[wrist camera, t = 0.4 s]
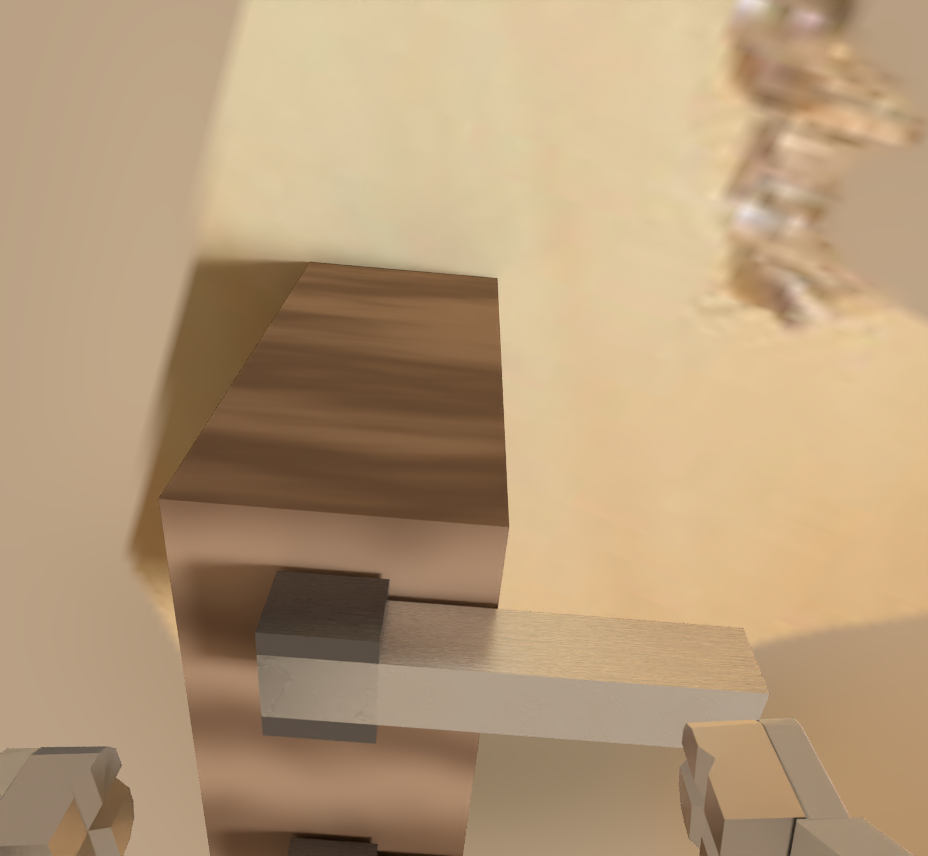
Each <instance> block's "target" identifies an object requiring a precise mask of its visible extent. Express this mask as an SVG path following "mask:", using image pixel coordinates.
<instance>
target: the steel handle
mask: <svg viewBox="0 0 928 856" xmlns="http://www.w3.org/2000/svg"><path fill="white" fill-rule="evenodd" d="M389 582H390V579H379V578H366V577H354V576H341V575H328V574H316V573H303V572H290V571H278V570H277V572H276V575H275V578H274V580H273V583H272V586H271V589H270V592H269V594H268V597H267V600H266V603H265V606H264V608H263V611H262V614H261V617H260V620H259V622H258V625H257V628H256V631H255V640H256V653H257V666H258V680H259V693H260V706H261V719H262V733H263V735H265V736H278V737H292V738H305V739H319V740H332V741H346V742H359V743H373V744H376V738H377V731H378V725H384V726H397V727H411V728H424V729H438V730H451V731H465V732H478V733H491V734H505V735H518V736H532V737H545V738H558V739H572V740H585V741H599V742H612V743H626V744H640V745H653V746H666V747H679V748H683V746H682V736H683V729H684V726H685V724H686V723H695V722H714V721H734V720H758V719H760V716H761V714H762V711H763V709H764V706H765V704H766V702H767V699H768V697H769V695H770V693H769V691H768V688H767V686H766V684H765V681H764V679H763V676H762V673H761V671H760V669H759V666H758V664H757V661H756V659H755V656H754V654H753V651H752V649H751V646H750V644H749V642H748V639H747V637H746V634H745V632H744V629H743V628H736V627H723V626H710V625H697V624H684V623H672V622H659V621H646V620H633V619H621V618H608V617H595V616H582V615H569V614H557V613H544V612H531V611H518V610H505V609H493V608H480V607H467V606H454V605H442V604H429V603H416V602H403V601H390V600H389Z"/></svg>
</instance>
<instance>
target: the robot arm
mask: <svg viewBox="0 0 928 856" xmlns="http://www.w3.org/2000/svg"><path fill="white" fill-rule="evenodd" d="M682 746H683V749H684V752H685V755H686V758H687V760H686V761H685V762H684V763H683V764H682V765H681V767H680V774H679V775H680V776H679V791H680V802H681V809H682V813H683V819H684V823H685V826H686V830H687V833H688V837H689V839H690V840H691V841H692V842H693V843H694V844H695V845H696V846H697V847H699V849H700V856H914V855H913V854H911V853H910V852H909V851H907V850H906V849H904V848H903V847H902V846H900V845H899V844H898V843H896V842H895V841H894V840H892V839H891V838H890V837H888V836H887V835H885V834H884V833H883V832H881V831H880V830H879V829H877V828H876V827H875V826H873V825H872V824H871V823H869V822H868V821H867V820H865V819H864V818H862V817H850V815H849V813H848V812H847V810H846V808H845V806H844V804H843V802H842V800H841V798H840V797H839V795H838V793H837V791H836V789H835V788H834V786H833V784H832V782H831V780H830V778H829V776H828V774H827V773H826V771H825V769H824V767H823V765H822V763H821V761H820V760H819V758H818V756H817V754H816V752H815V751H814V748H813V747H812V745H811V744H810V741H809V739H808V737H807V736H806V734H805V732H804V730H803V728H802V726H801V724H800V723H799V722H798V721H797V720H795V719H794V718H777V719H758V720H734V721H714V722H695V723H686V724H685V726H684V729H683V736H682ZM121 766H122V764H121V761H120V758H119V756H118V753H117V751H116V748H112V747H41V748H8V749H6V750H4V751H3V752H1V753H0V856H123V855H124V852H125V850H126V848H127V845H128V843H129V840H130V836H131V831H132V826H133V821H134V804H133V798H132V795H131V791H130V788H129V787H128V786H126V785H125V784H124V783H122V782H121V781H120V780H119V779H117V778H116V776H117V774H118V772H119V770H120V768H121Z"/></svg>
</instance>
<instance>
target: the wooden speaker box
mask: <svg viewBox="0 0 928 856" xmlns="http://www.w3.org/2000/svg"><path fill="white" fill-rule="evenodd" d="M159 506H160V513H161V520H162V526H163V533H164V540H165V547H166V554H167V561H168V568H169V575H170V582H171V588H172V595H173V602H174V609H175V616H176V623H177V630H178V637H179V644H180V650H181V657H182V664H183V671H184V678H185V685H186V691H187V699H188V705H189V712H190V719H191V726H192V733H193V740H194V746H195V753H196V760H197V767H198V774H199V781H200V788H201V795H202V802H203V809H204V816H205V822H206V829H207V836H208V843H209V850H210V856H287V853H288V849H289V844H290V840H291V838H304V839H318V840H332V841H346V842H360V843H374V844H378V852H377V856H463V849H464V843H465V836H466V828H467V821H468V814H469V807H470V800H471V792H472V786H473V779H474V771H475V765H476V758H477V750H478V744H479V737H480V733H478V732H465V731H451V730H438V729H424V728H411V727H397V726H384V725H378V731H377V738H376V744H373V743H359V742H346V741H332V740H319V739H305V738H292V737H278V736H265V735H263V733H262V719H261V706H260V693H259V680H258V666H257V653H256V640H255V631H256V628H257V625H258V622H259V620H260V617H261V614H262V611H263V608H264V606H265V603H266V600H267V597H268V594H269V592H270V589H271V586H272V583H273V580H274V578H275V575H276V572H277V570H278V571H290V572H303V573H316V574H328V575H341V576H354V577H366V578H379V579H390V582H389V600H390V601H403V602H416V603H429V604H442V605H454V606H467V607H480V608H493V609H498V602H499V595H500V588H501V581H502V574H503V567H504V560H505V553H506V546H507V538H508V531H509V515H508V493H507V472H506V451H505V430H504V409H503V387H502V366H501V345H500V324H499V302H498V281H497V278H486V277H474V276H463V275H451V274H440V273H429V272H417V271H406V270H394V269H383V268H372V267H360V266H349V265H337V264H326V263H315V262H310V263H309V264H308V266H307V268H306V269H305V271H304V272H303V274H302V275H301V277H300V279H299V280H298V282H297V283H296V285H295V286H294V288H293V289H292V291H291V293H290V294H289V296H288V297H287V299H286V300H285V302H284V304H283V305H282V307H281V308H280V310H279V311H278V313H277V314H276V316H275V318H274V319H273V321H272V322H271V324H270V325H269V327H268V329H267V330H266V332H265V333H264V335H263V336H262V338H261V339H260V341H259V343H258V344H257V346H256V347H255V349H254V350H253V352H252V354H251V355H250V357H249V358H248V360H247V361H246V363H245V364H244V366H243V368H242V369H241V371H240V372H239V374H238V375H237V377H236V379H235V380H234V382H233V383H232V385H231V386H230V388H229V390H228V391H227V393H226V394H225V396H224V397H223V399H222V400H221V402H220V404H219V405H218V407H217V408H216V410H215V411H214V413H213V415H212V416H211V418H210V419H209V421H208V422H207V424H206V425H205V427H204V429H203V430H202V432H201V433H200V435H199V436H198V438H197V440H196V441H195V443H194V444H193V446H192V447H191V449H190V450H189V452H188V454H187V455H186V457H185V458H184V460H183V461H182V463H181V465H180V466H179V468H178V469H177V471H176V472H175V474H174V476H173V477H172V479H171V480H170V482H169V483H168V485H167V486H166V488H165V490H164V491H163V493H162V494H161V496H160V497H159Z"/></svg>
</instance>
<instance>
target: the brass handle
mask: <svg viewBox="0 0 928 856" xmlns="http://www.w3.org/2000/svg"><path fill="white" fill-rule="evenodd" d="M377 852H378V844H374V843H360V842H346V841H332V840H318V839H304V838H291V840H290V844H289V849H288V853H287V856H377Z"/></svg>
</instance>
